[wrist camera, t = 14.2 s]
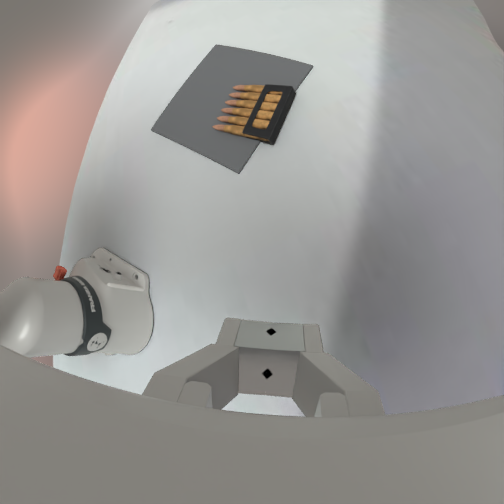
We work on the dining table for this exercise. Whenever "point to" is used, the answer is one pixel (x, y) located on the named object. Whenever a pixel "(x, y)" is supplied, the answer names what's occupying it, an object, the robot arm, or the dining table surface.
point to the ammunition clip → (257, 111)
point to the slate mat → (223, 101)
